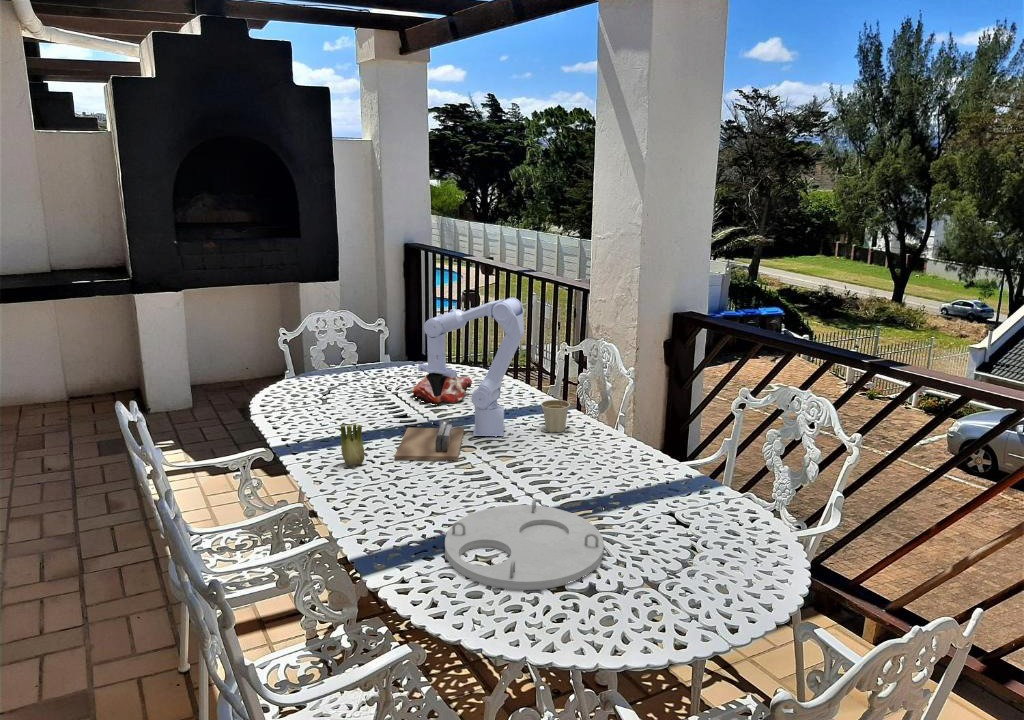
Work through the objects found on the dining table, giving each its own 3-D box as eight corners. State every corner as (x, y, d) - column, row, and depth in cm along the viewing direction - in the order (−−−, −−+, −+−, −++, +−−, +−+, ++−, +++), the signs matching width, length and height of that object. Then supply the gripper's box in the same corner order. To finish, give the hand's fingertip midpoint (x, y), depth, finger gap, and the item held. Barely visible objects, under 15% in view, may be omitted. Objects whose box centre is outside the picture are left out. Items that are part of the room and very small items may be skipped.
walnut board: (464, 432, 232) (464, 428, 231) (457, 461, 208) (457, 456, 208) (407, 432, 232) (407, 427, 231) (394, 460, 209) (394, 455, 208)
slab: (598, 599, 141) (599, 576, 140) (425, 582, 147) (424, 559, 146) (607, 519, 174) (607, 500, 173) (465, 507, 180) (465, 489, 179)
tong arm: (440, 429, 229) (439, 419, 228) (449, 429, 229) (448, 419, 228) (433, 451, 211) (433, 440, 210) (443, 451, 211) (442, 440, 210)
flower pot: (536, 432, 233) (536, 406, 230) (546, 423, 241) (546, 398, 239) (564, 436, 229) (564, 409, 227) (573, 426, 238) (574, 401, 235)
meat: (466, 407, 257) (466, 380, 255) (407, 405, 259) (406, 378, 257) (474, 390, 278) (474, 365, 275) (419, 389, 279) (418, 364, 277)
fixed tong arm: (447, 433, 225) (447, 424, 225) (452, 433, 225) (452, 424, 225) (442, 451, 211) (441, 441, 210) (447, 451, 211) (447, 441, 210)
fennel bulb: (340, 465, 205) (338, 425, 202) (351, 459, 209) (349, 420, 206) (357, 469, 202) (355, 428, 200) (367, 463, 207) (365, 423, 204)
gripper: (411, 353, 233) (412, 394, 236) (445, 360, 224) (446, 402, 228) (426, 349, 238) (427, 389, 242) (460, 356, 230) (460, 397, 233)
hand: (437, 395), depth 235 cm, fingers closed
